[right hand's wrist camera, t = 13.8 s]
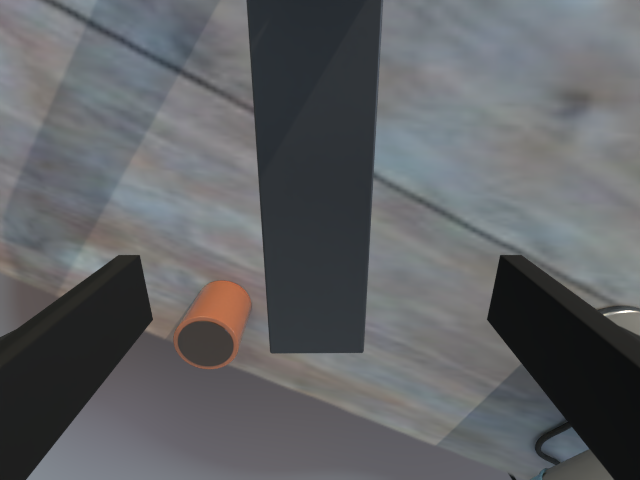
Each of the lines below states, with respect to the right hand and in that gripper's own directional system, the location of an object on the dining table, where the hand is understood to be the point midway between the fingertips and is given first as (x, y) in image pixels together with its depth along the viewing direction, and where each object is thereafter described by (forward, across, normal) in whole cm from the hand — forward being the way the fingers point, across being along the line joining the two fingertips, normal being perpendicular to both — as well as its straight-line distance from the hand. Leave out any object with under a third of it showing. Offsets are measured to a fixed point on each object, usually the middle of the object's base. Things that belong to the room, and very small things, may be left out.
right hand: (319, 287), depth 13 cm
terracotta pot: (+27, +12, +18) cm, 35 cm away
